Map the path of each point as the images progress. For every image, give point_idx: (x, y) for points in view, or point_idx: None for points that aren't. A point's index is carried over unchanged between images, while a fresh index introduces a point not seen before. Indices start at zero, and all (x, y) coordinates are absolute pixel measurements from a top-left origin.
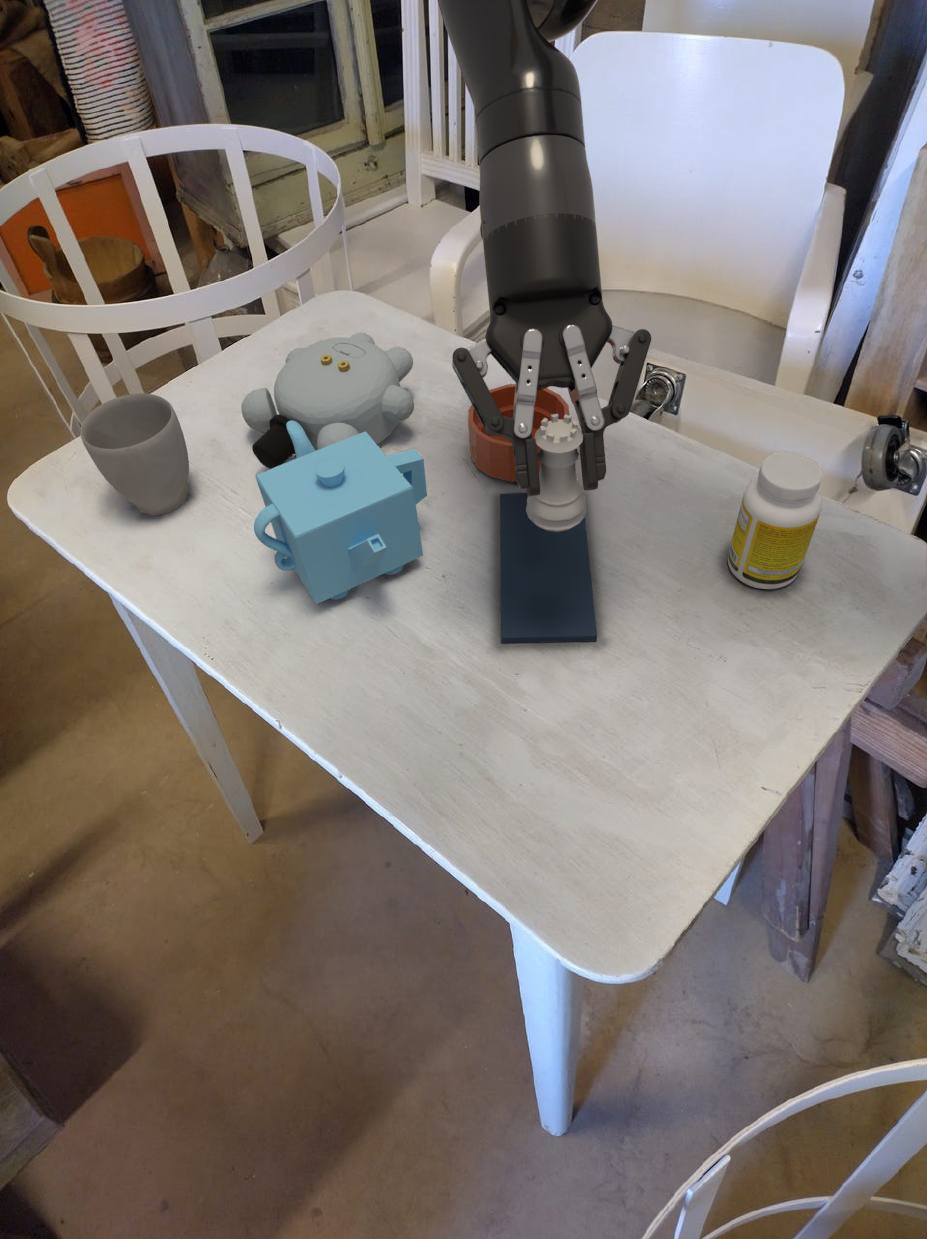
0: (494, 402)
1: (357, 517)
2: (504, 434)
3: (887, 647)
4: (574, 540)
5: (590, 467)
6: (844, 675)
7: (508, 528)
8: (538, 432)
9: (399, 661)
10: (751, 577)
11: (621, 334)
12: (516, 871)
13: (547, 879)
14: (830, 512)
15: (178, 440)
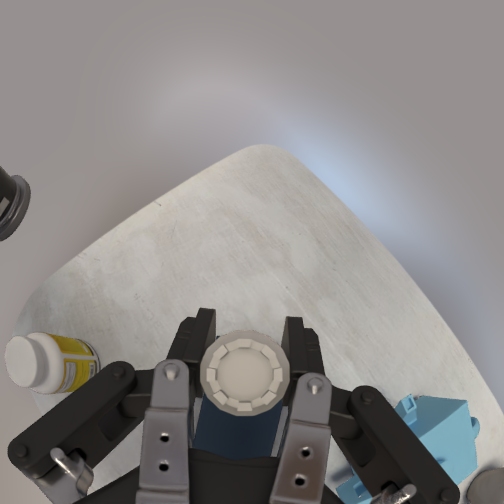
0: (372, 428)
1: (421, 432)
2: (343, 390)
3: (52, 276)
4: (206, 438)
5: (204, 323)
6: (80, 264)
7: None
8: (282, 384)
9: (369, 346)
10: (89, 349)
11: (56, 492)
12: (309, 188)
13: (294, 181)
14: (30, 388)
15: (492, 501)
